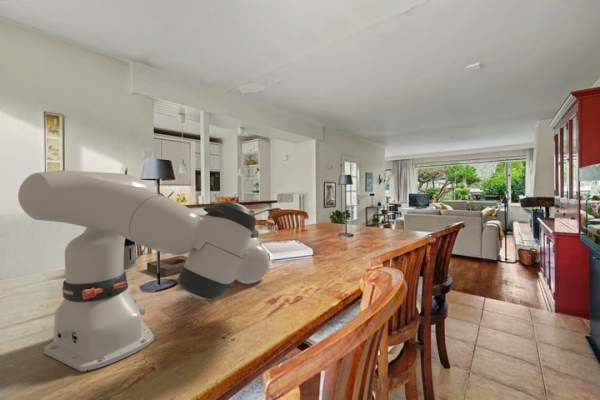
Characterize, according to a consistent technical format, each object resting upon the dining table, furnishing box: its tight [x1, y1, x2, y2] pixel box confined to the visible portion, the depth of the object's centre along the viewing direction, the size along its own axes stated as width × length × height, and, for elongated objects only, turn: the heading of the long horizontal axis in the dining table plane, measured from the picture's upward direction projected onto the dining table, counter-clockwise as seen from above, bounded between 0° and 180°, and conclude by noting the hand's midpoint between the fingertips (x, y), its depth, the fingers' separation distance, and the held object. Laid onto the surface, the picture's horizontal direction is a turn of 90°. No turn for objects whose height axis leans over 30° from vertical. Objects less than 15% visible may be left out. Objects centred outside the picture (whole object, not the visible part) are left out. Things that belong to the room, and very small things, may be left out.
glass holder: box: [124, 238, 147, 270], centre depth 120 cm, size 9×14×15 cm, turn 84°
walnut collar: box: [146, 254, 187, 277], centre depth 118 cm, size 16×16×3 cm
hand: (199, 258), depth 110 cm, fingers open, 8 cm apart
